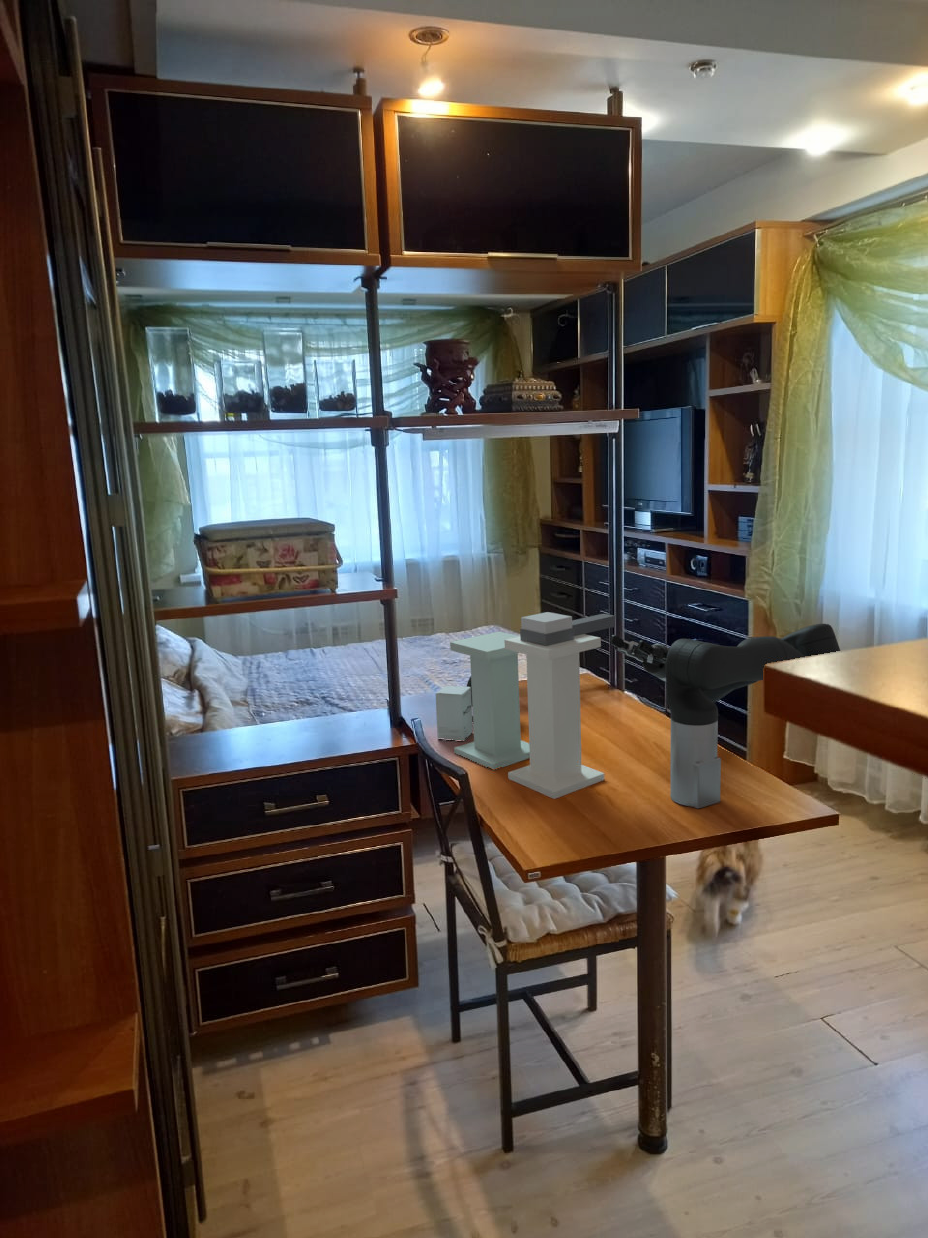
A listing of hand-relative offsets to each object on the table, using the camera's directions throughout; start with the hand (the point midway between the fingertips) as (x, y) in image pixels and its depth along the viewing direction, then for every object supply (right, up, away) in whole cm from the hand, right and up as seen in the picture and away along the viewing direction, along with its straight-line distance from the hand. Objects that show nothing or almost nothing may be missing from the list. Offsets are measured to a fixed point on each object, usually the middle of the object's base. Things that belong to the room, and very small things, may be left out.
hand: (625, 641), depth 195 cm
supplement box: (-39, -25, +23) cm, 52 cm away
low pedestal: (-29, -27, +9) cm, 41 cm away
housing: (-14, +2, -11) cm, 17 cm away
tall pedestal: (-17, -30, -8) cm, 36 cm away
